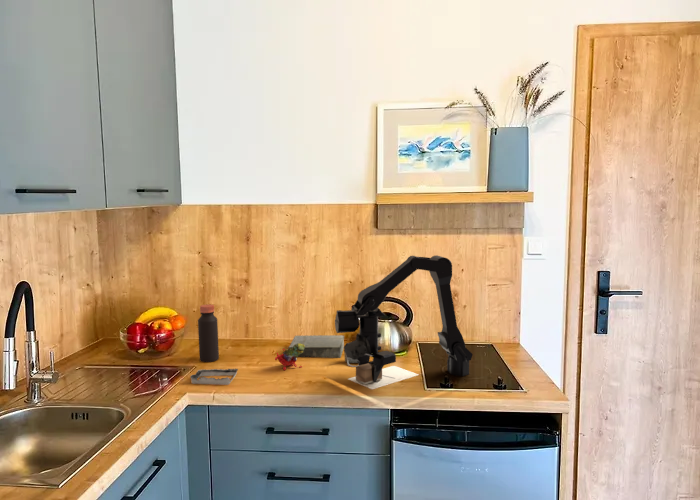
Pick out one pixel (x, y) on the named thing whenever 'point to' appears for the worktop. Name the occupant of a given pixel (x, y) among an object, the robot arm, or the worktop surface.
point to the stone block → (320, 345)
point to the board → (388, 377)
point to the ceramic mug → (349, 360)
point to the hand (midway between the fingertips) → (369, 379)
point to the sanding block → (365, 374)
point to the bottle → (208, 334)
